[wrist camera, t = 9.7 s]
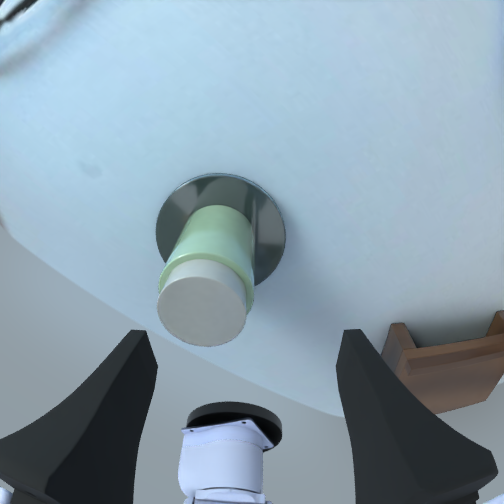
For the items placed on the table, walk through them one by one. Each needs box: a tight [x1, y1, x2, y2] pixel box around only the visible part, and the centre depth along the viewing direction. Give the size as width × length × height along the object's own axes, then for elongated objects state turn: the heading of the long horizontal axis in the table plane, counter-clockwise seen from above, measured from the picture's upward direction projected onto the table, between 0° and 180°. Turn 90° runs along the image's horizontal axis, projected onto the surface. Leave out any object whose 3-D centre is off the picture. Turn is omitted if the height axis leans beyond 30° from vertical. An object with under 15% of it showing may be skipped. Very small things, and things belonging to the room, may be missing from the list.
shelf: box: [381, 310, 504, 414], centre depth 23 cm, size 9×13×5 cm
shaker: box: [157, 205, 255, 347], centre depth 16 cm, size 4×4×7 cm
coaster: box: [156, 173, 286, 286], centre depth 20 cm, size 8×8×1 cm
